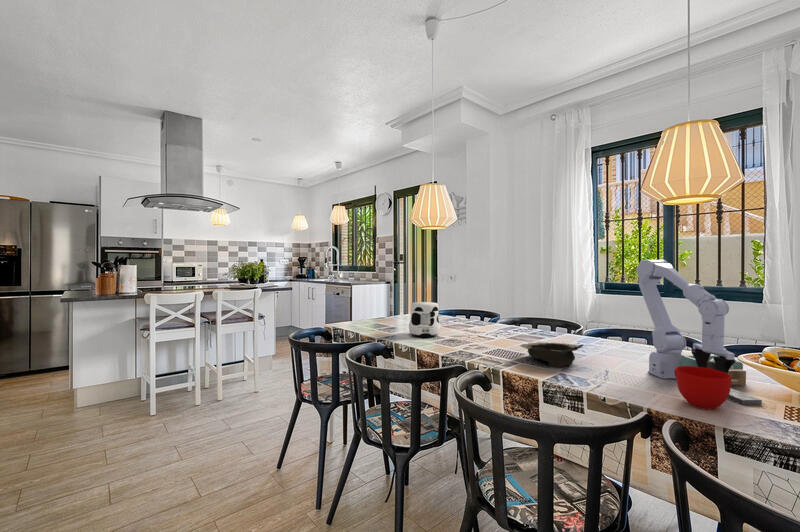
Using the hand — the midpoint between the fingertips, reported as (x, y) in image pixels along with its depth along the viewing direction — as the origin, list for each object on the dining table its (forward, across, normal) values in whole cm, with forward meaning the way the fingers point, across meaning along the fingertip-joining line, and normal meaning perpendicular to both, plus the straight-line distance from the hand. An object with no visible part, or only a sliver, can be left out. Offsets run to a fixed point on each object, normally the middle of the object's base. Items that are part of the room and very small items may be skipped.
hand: (711, 375), depth 128 cm
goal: (+4, +12, -10) cm, 16 cm away
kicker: (+4, 0, -6) cm, 7 cm away
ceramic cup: (+5, -13, +16) cm, 21 cm away
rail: (+4, -5, 0) cm, 7 cm away
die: (+5, +8, -10) cm, 14 cm away
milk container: (+5, +86, +90) cm, 125 cm away
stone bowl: (+5, +33, +42) cm, 53 cm away
